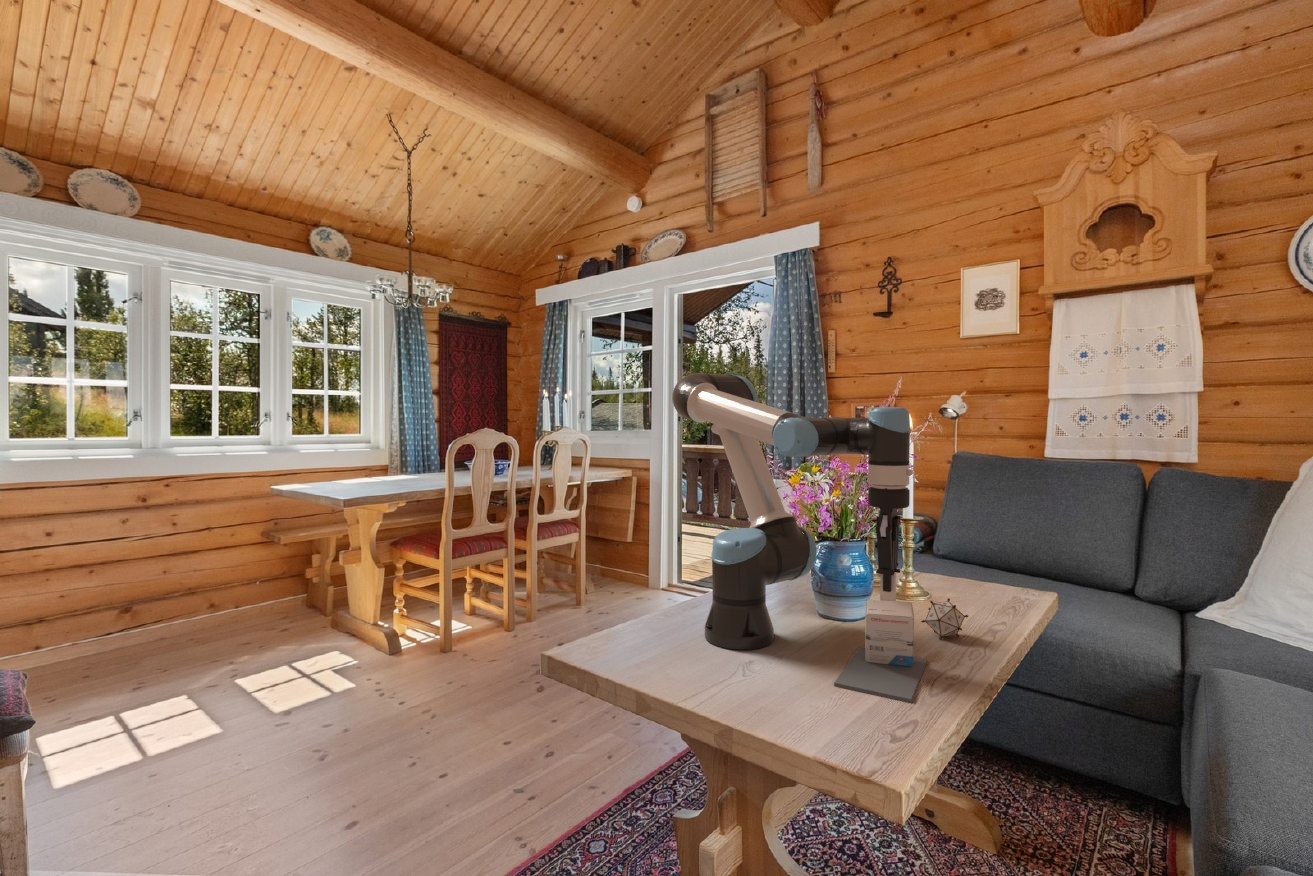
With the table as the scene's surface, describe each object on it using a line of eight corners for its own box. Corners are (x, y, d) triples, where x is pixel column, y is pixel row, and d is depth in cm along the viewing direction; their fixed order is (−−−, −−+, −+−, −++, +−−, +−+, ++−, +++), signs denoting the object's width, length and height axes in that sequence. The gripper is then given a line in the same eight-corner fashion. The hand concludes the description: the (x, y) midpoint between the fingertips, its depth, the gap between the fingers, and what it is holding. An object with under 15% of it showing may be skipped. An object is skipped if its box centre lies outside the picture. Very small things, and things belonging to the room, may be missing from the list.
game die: (953, 656, 133) (976, 628, 127) (915, 639, 134) (936, 612, 128) (952, 624, 140) (974, 597, 134) (915, 609, 141) (935, 582, 135)
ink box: (911, 651, 120) (913, 601, 116) (913, 669, 116) (914, 617, 112) (865, 646, 123) (865, 597, 119) (865, 663, 119) (865, 612, 115)
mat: (834, 686, 110) (834, 682, 110) (859, 649, 127) (859, 646, 127) (911, 702, 103) (911, 699, 103) (926, 662, 120) (926, 659, 120)
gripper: (904, 491, 111) (903, 619, 112) (914, 484, 122) (913, 600, 123) (861, 488, 115) (861, 612, 116) (875, 482, 126) (874, 595, 127)
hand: (888, 606), depth 119 cm, fingers closed
